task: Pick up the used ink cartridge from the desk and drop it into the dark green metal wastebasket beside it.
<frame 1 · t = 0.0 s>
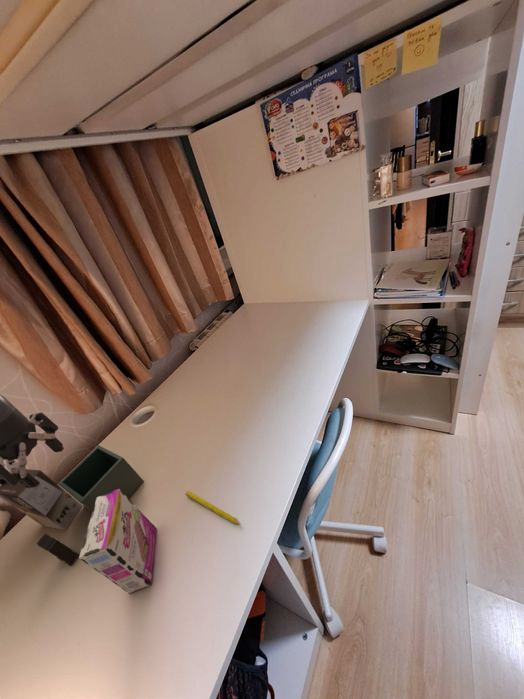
hand: (48, 467, 64), 18 cm above the table, tool pointing down, fingers open, 8 cm apart
candy bar box: (145, 558, 60), on the table
wastebasket: (114, 493, 76), on the table
pencil: (213, 509, 65), on the table
ink cartridge: (70, 557, 65), on the table
coffee box: (62, 515, 75), on the table
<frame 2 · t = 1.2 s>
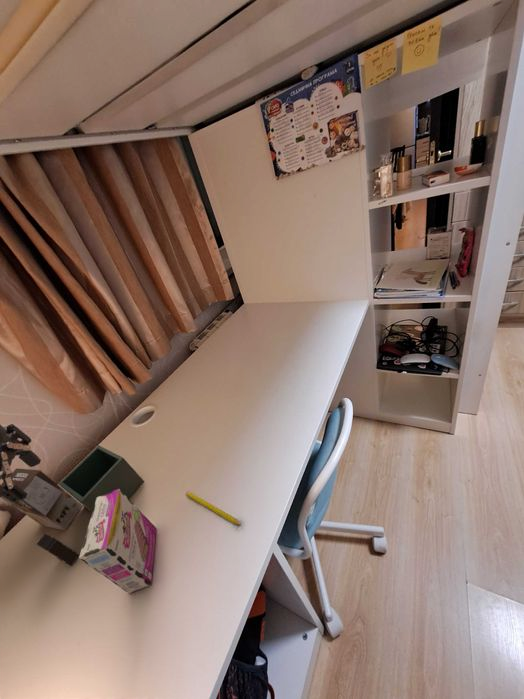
hand: (29, 480, 60), 20 cm above the table, tool pointing down, fingers open, 8 cm apart
nothing on the table moved.
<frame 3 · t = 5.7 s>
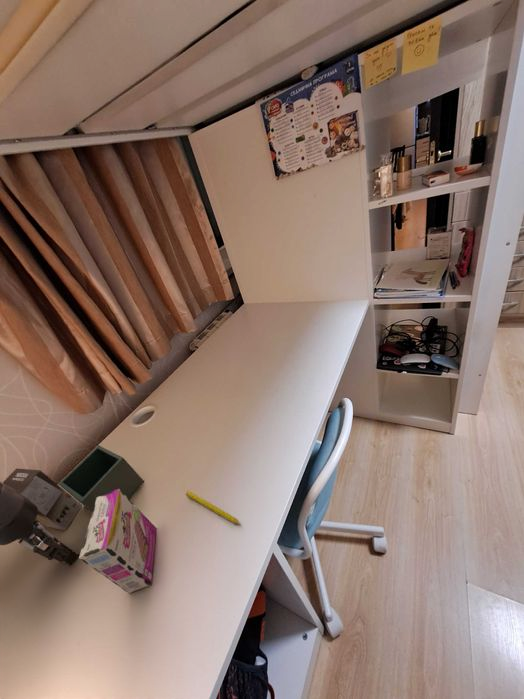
hand: (59, 550, 63), 3 cm above the table, tool pointing down, fingers closed on ink cartridge, 5 cm apart
ink cartridge: (70, 557, 65), on the table, touching gripper
everything else where it was.
when the fingers open (12 cm above the table, at t = 12.5 s): ink cartridge drops 8 cm, resting on wastebasket.
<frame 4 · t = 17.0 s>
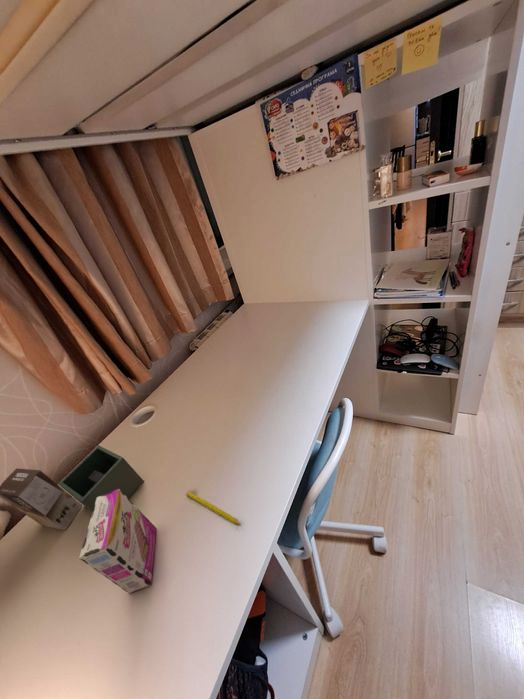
ink cartridge: (114, 493, 75), resting on wastebasket
everything else where it was.
at the end: ink cartridge inside the target area in the wastebasket (0.4 cm from its centre), point 0.3 cm above the wastebasket's base; the gripper is holding nothing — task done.
